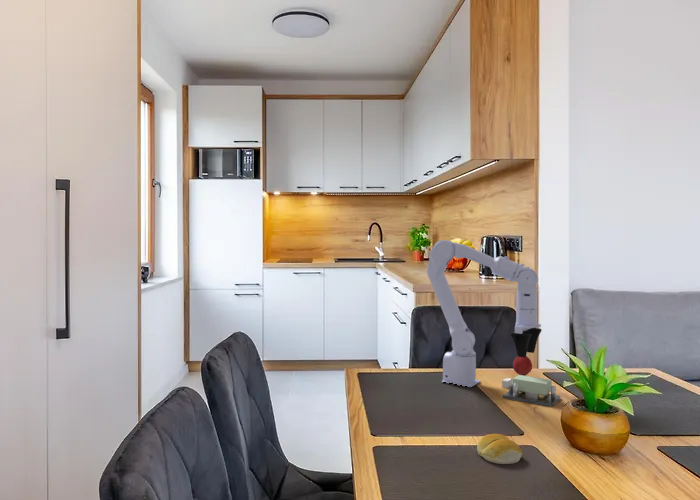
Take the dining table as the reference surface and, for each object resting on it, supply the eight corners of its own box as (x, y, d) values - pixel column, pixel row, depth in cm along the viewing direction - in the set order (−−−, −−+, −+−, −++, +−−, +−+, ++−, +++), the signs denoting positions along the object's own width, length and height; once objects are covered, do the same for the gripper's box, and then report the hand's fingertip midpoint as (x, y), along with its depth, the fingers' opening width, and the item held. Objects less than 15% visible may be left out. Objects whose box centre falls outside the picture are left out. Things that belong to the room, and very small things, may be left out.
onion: (512, 378, 164) (513, 353, 164) (512, 373, 169) (512, 349, 169) (532, 379, 162) (532, 354, 162) (531, 375, 168) (531, 350, 167)
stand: (502, 387, 154) (502, 380, 154) (506, 384, 157) (506, 377, 157) (529, 391, 149) (529, 384, 149) (532, 389, 152) (532, 382, 152)
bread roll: (504, 445, 111) (505, 427, 111) (528, 463, 102) (528, 443, 102) (469, 449, 109) (469, 430, 109) (490, 467, 100) (490, 446, 100)
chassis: (502, 397, 144) (502, 382, 143) (513, 390, 151) (513, 375, 151) (551, 407, 136) (551, 390, 136) (560, 398, 143) (560, 383, 143)
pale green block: (512, 389, 144) (512, 378, 144) (518, 385, 148) (518, 374, 148) (546, 395, 138) (546, 383, 138) (551, 390, 142) (551, 379, 142)
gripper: (532, 312, 144) (532, 361, 145) (547, 307, 156) (547, 352, 156) (507, 310, 149) (507, 357, 149) (524, 305, 160) (523, 349, 161)
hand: (526, 354), depth 153 cm, fingers open, 7 cm apart
